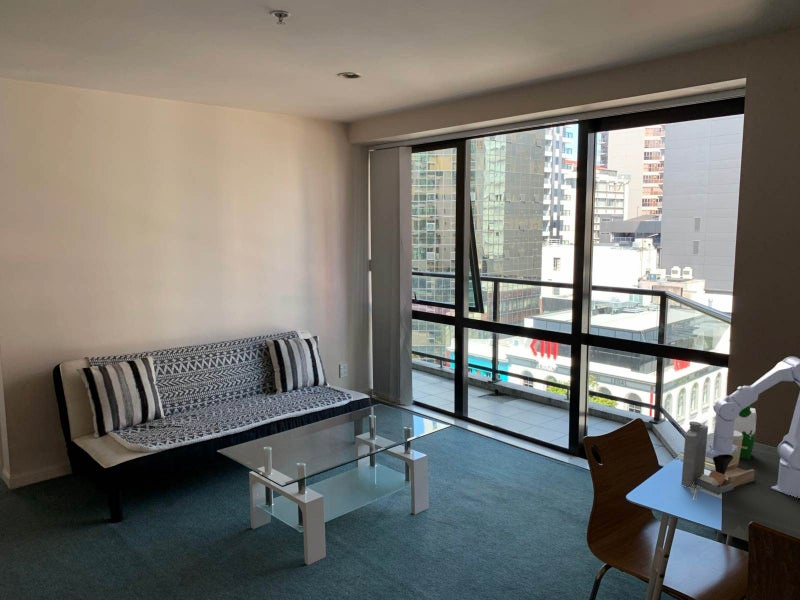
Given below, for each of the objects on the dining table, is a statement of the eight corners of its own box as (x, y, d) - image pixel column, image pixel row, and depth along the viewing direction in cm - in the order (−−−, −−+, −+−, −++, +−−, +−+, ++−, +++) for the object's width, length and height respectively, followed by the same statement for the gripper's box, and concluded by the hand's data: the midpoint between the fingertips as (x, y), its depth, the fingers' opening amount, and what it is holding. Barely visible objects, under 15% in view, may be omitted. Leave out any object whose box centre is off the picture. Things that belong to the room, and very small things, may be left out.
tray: (733, 489, 195) (733, 483, 194) (718, 494, 191) (719, 488, 190) (709, 480, 201) (710, 474, 201) (695, 485, 197) (696, 479, 197)
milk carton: (725, 455, 225) (730, 404, 223) (727, 448, 233) (731, 399, 231) (752, 460, 221) (757, 408, 218) (753, 453, 228) (758, 403, 226)
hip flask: (690, 488, 195) (694, 429, 192) (677, 484, 198) (681, 426, 195) (705, 474, 206) (709, 419, 204) (692, 471, 209) (697, 416, 207)
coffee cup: (733, 459, 221) (736, 428, 220) (745, 469, 212) (748, 437, 211) (707, 458, 222) (709, 427, 221) (718, 467, 213) (720, 435, 212)
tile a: (725, 476, 196) (723, 474, 195) (720, 487, 195) (717, 484, 195) (714, 472, 200) (711, 469, 199) (709, 482, 199) (706, 480, 198)
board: (754, 480, 202) (755, 470, 202) (730, 488, 195) (731, 477, 195) (733, 473, 208) (734, 462, 208) (709, 480, 201) (710, 470, 201)
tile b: (713, 478, 193) (711, 483, 192) (719, 483, 194) (716, 488, 194) (702, 473, 196) (699, 478, 196) (707, 479, 198) (704, 484, 197)
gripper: (724, 429, 203) (721, 467, 205) (698, 435, 196) (695, 474, 198) (745, 435, 197) (741, 474, 199) (719, 442, 190) (715, 482, 192)
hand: (719, 475), depth 198 cm, fingers closed, pressing on tile a
